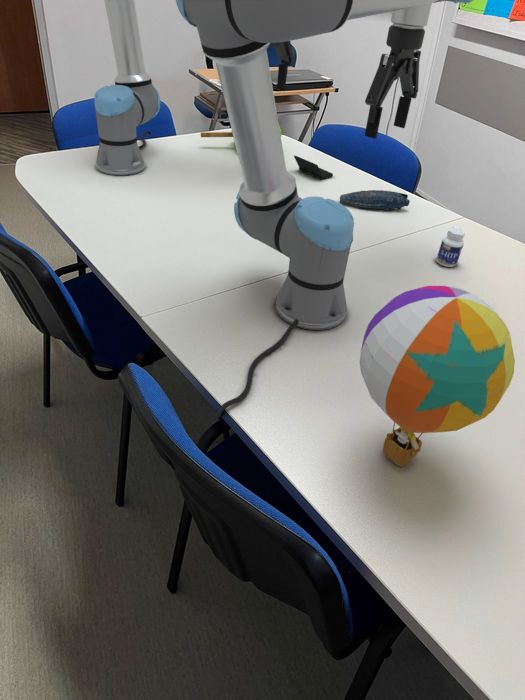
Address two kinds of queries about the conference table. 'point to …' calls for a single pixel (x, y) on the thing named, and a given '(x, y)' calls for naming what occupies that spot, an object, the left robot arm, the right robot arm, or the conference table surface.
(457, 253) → the pill bottle
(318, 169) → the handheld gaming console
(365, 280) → the conference table surface
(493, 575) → the conference table surface
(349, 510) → the conference table surface
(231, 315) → the conference table surface
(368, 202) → the fish model
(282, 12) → the right robot arm
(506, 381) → the toy
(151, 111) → the left robot arm
